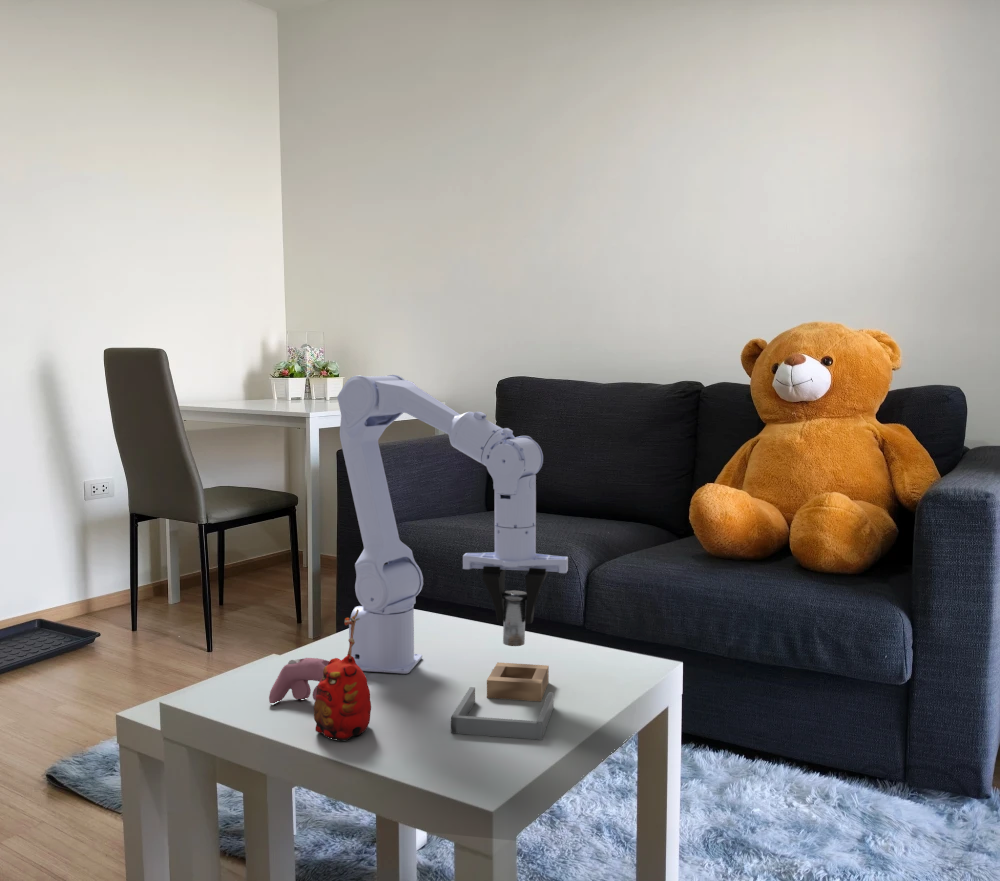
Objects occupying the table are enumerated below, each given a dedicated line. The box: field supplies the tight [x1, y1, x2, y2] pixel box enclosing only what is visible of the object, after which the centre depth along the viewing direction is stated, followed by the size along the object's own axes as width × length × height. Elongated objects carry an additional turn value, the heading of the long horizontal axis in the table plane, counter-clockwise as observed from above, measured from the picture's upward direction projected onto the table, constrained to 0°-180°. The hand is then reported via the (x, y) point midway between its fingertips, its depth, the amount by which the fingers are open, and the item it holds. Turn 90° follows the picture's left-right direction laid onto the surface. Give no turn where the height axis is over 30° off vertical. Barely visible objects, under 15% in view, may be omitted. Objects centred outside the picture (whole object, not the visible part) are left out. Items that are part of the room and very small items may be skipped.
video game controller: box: [268, 657, 330, 704], centre depth 122 cm, size 10×5×7 cm, turn 72°
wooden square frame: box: [486, 662, 550, 702], centre depth 126 cm, size 8×8×2 cm
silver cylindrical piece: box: [502, 590, 527, 647], centre depth 125 cm, size 4×4×7 cm
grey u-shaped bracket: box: [450, 686, 555, 741], centre depth 116 cm, size 11×11×2 cm
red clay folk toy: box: [313, 609, 372, 742], centre depth 112 cm, size 8×7×15 cm
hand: (515, 621), depth 126 cm, fingers closed on silver cylindrical piece, 3 cm apart
